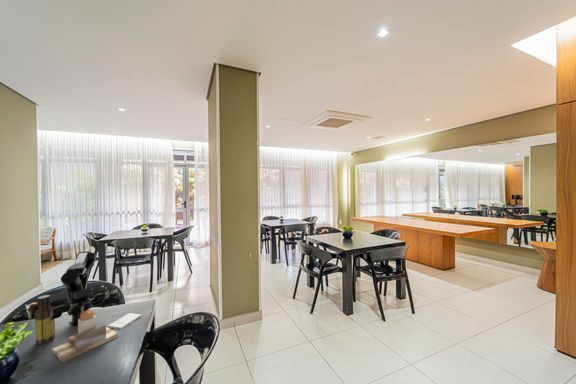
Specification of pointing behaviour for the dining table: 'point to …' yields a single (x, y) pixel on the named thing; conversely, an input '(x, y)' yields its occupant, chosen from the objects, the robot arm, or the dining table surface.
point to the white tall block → (86, 321)
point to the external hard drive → (124, 321)
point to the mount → (84, 342)
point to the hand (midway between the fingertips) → (84, 322)
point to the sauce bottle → (44, 321)
